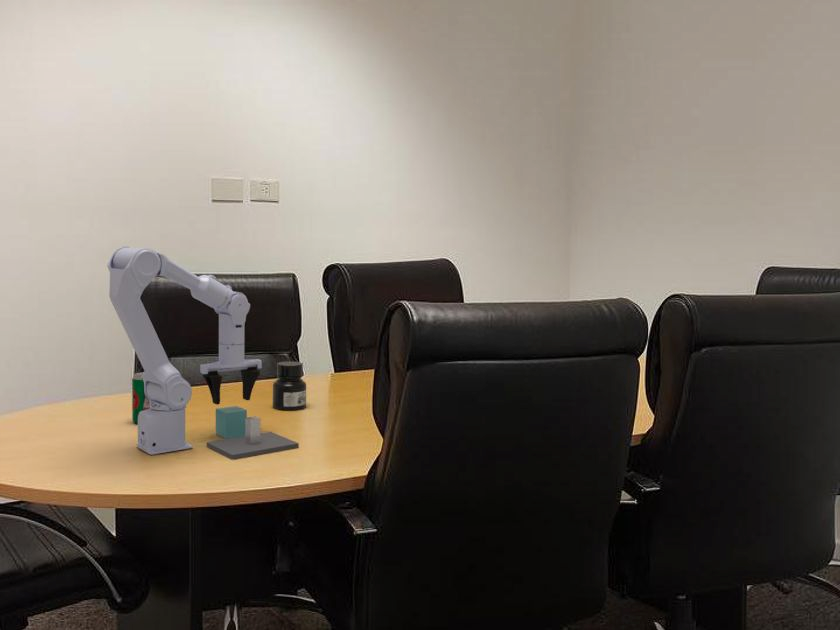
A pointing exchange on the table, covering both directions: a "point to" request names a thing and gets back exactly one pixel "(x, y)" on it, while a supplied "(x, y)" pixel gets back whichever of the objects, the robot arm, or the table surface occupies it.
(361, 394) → the table surface
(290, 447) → the pin stand
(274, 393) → the ink bottle
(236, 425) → the teal square block
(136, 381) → the soda can
